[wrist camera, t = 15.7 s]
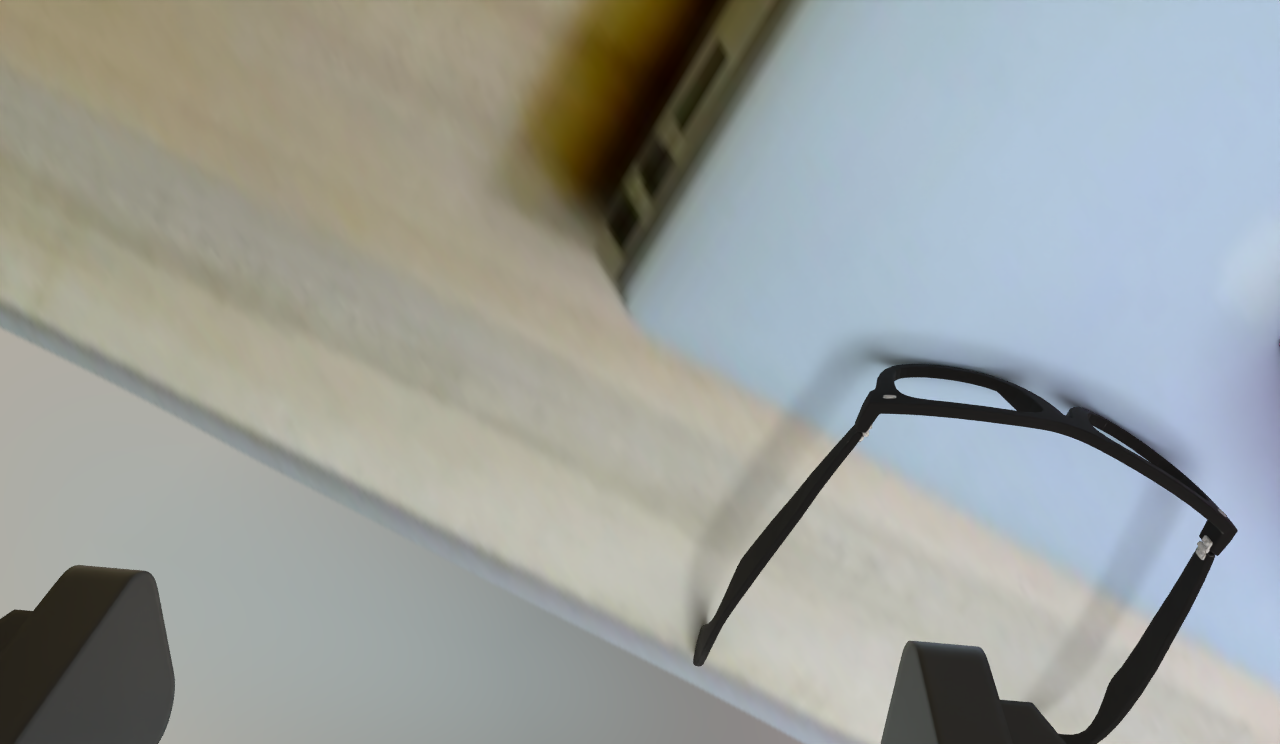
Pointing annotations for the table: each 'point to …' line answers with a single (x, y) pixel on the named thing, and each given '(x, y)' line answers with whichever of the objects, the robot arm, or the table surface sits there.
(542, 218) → the table surface
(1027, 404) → the glasses
